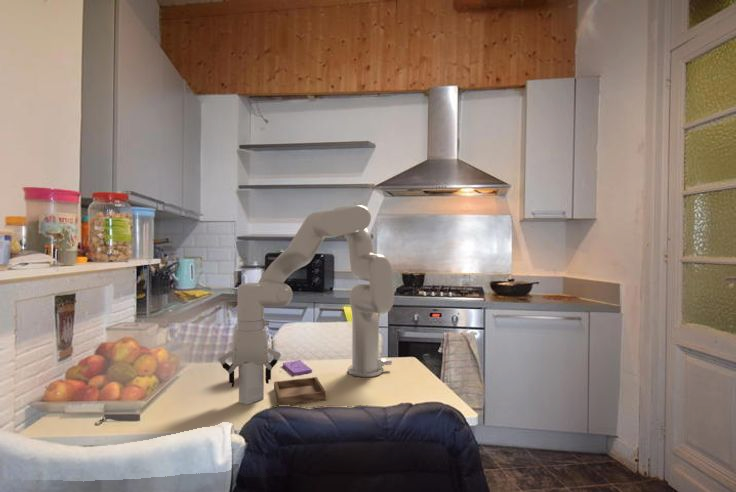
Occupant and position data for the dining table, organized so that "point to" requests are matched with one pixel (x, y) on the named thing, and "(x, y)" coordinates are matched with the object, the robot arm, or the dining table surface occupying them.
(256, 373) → the skincare box
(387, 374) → the dining table surface
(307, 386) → the tray
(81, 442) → the dining table surface
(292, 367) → the sponges
